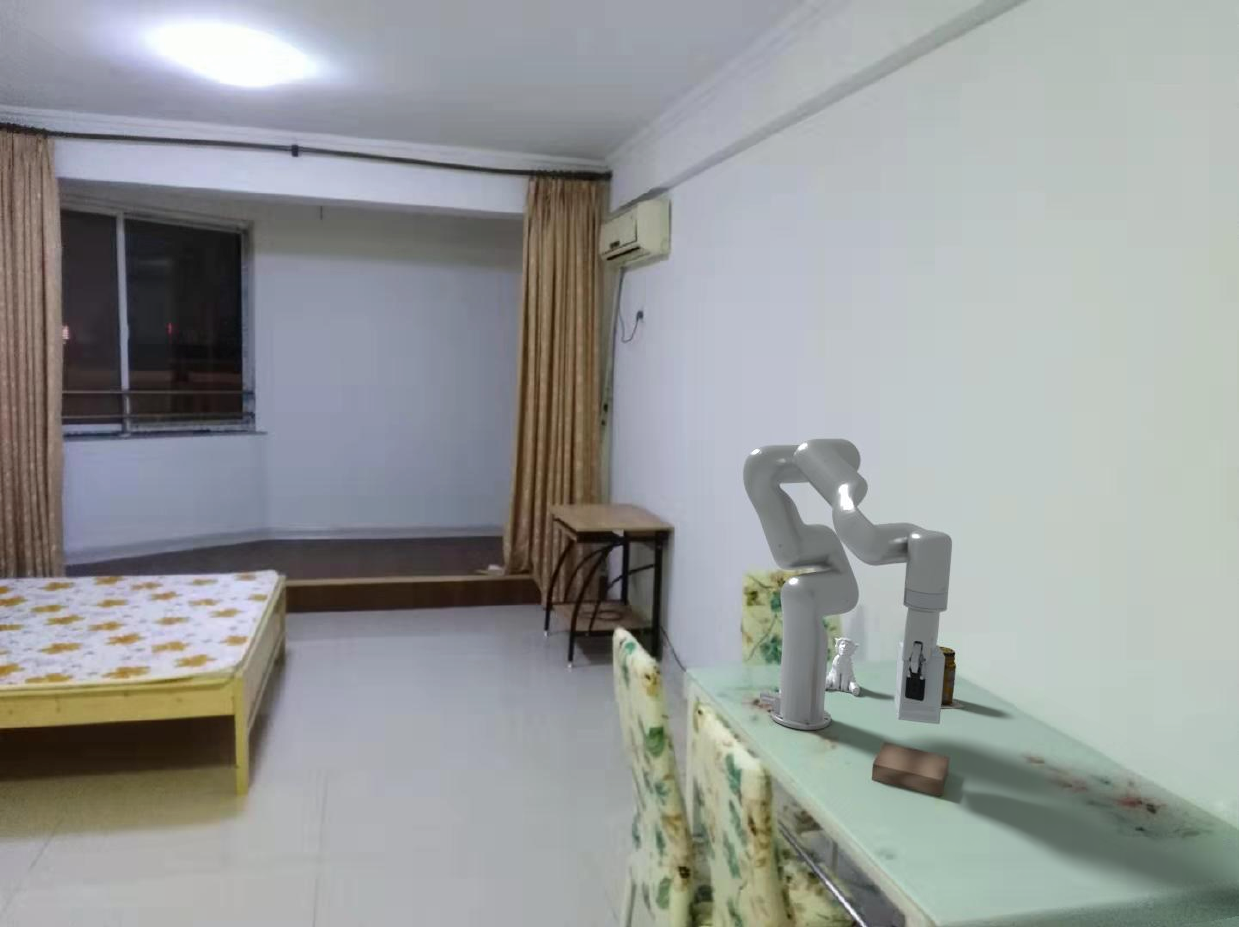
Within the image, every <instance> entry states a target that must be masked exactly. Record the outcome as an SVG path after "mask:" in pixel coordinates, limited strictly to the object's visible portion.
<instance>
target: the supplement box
mask: <svg viewBox="0 0 1239 927" xmlns="http://www.w3.org/2000/svg"><path fill="white" fill-rule="evenodd" d="M903 643H904V641H899V643H898V650H897V651H898V652H897V663H896V664H897V665H896V678H895V689H894V701H893V707H894V709H895V713H896V716H897V719H898V720H900V721H908V722H914V723H924V724H925V723H926V724H933V725H939V724H940V721H941V710H942V708H941V701H942V689H943V676H944V664H945V656H944V654H943V652H942V651H941V649H940V647H941V646H940V645H938V644H937V645H936V649H935V651H934V653H933V654H932V657H931V661H930V664H929V665H927V666H926V668H925V674H924V679H926V680H925V693H924V700H923V701H919V700H914V699H908V698H906V697H905V689H906V677H907V673H908V667H909V661H910V658H912V654H913V653H912V654H911V656H910V658H909V660H908V661H906V660H905V662H904V661H903V660H902V652H903ZM922 649H923V647H922ZM919 661H923V662H924V656H923V654H921V655H920V660H919ZM919 667H920V668H921V669H922V666H919Z"/></svg>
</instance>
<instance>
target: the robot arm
mask: <svg viewBox="0 0 1239 927" xmlns="http://www.w3.org/2000/svg"><path fill="white" fill-rule="evenodd" d="M861 460H862V458H861V455H860V451H859V449H858V448H857V447H856V445H855V444H854V443H853V442H851V441H850V440H848V439H844V438H814V439H813V438H812V439H809V440H806V441H803V442H802V443H801V444H774V445H773V444H771V445H770V444H769V445H764V446H760V447H757V448H755V449H753V450H752V451H751V452H750V453H749V454H747V457H746V459H745V461H744V465H743V470H742V481H743V486H744V489H745V492H746V494H747V497H748V498H749V500H750V502H751V505H752V507H753V508H754V510H755V512H756V514H757V516H758V519H759V522H760V525H761V528H762V531H763V534H764V536H765V539H766V541H767V544H768V547H769V549H770V553H771V555H772V558H773V560H774V562H775V563H776V565H777V566H778V567H779V568H780V569H781V570H783V571H795V570H796V571H798V570H808V569H813V571H812V572H811V571H810V572H804V573H799V574H796V575H795V574H794V575H792V576H791V577H789V578H788V579H787V580H786V581H785V582H784V583H783V584H782V587H781V590H780V606H781V612H782V642H781V645H782V647H781V659H780V661H781V662H780V675H779V690H778V691H775V692H770V691H769V690H767V691H766V690H761V691H760V692H759V699H760V700H761V703H762V704H769V705H772V707H771V708H770V713H769V714H770V717H771V718H772V720H773V721H775V722H776V723H778V724H779V725H783V726H784V727H788V728H791V729H797V730H805V731H812V730H814V731H815V730H820V729H824V728H826V727H828V726H829V725H830V724H831V720H832V719H831V718H832V717H831V715H830V713H829V712H828V711H827V710H825V696H826V690H825V686H826V677H827V671H828V659H829V658H828V655H829V636H828V631H827V629H826V627H825V624H824V622H823V618H826V617H829V616H830V617H831V616H836V615H841V614H842V615H843V614H846V613H849V612H851V611H852V610H854V609H855V608H856V606H857V605H858V602H859V597H860V595H859V594H860V591H859V586H858V583H857V579H856V577H855V574H854V571H853V569H852V566H851V564H850V561H849V559H848V556H847V553H846V551H845V549H844V546H843V544H844V545H845V547H846V548H847V550H849V552H851V553H852V555H854V556H855V557H856V558H857V559H858V560H860V561H861V562H862V563H864V564H866V565H869V566H873V567H875V566H876V567H877V566H878V567H879V566H885V565H894V564H895V565H896V564H906V566H905V579H904V580H905V581H904V591H903V602H902V604H903V606H904V607H905V608H907V613H906V620H905V627H904V635H903V642H904V643H903V652H902V660H903V661H904V662H905V660H906V661H908V660H909V658H910V656H911V654H912V653H913V654H912V658H910V661H909V667H908V673H907V677H906V689H905V697H906V698H908V699H914V700H919V701H923V700H924V693H925V680H926V679H924V674H925V668H926V666H927V665H929V664H930V661H931V657H932V654H933V653H934V651H935V649H936V645H938V636H939V630H940V628H939V626H940V617H941V616H940V614H941V613H943V612H946V611H947V610H948V600H949V589H950V588H949V587H950V575H951V562H952V551H953V540H952V537H951V536H950V535H949V534H947V533H945V532H943V531H939V530H929V529H926V528H923V527H921V526H919V525H917V524H914V523H911V522H910V523H909V522H895V523H893V522H892V523H881V524H880V523H879V524H873V522H872V521H870V519H868V518H867V517H866V516H865V514H863V512H862V511H861V510H860V509H859V508H858V506H859V505H861V503H862V502H863V500H864V499H865V497H866V495H867V493H868V490H869V488H868V487H869V485H868V482H867V480H866V479H865V478H864V477H863V476H862V475H861V474H860V473H859V472H858V471H859V469H860V468H861V462H862V461H861ZM802 483H804V484H805V483H809V484H810V486H812V488H813V489H814V490H815V491H816V492H817V493H818V494H819V495H820V496H821V497H822V498H823V499H824V500H825V501H826V502H827V504H828V505H829V506H830V507H831V508H832V512H831V514H832V515H831V519H832V523H833V527H834V530H833V528H831V527H829V526H828V525H825V524H820V523H812V524H806V523H805V522H804V521H803V519H802V518H801V515H800V512H799V510H798V509H799V508H798V507H797V505H796V503H795V501H794V500H793V499H792V497H791V496H790V495H789V494H788V493H787V492H786V491H785V490H784V489H783V488H782V487H781V484H802ZM922 647H923V649H922ZM921 654H923V656H924V662H923V661H919V660H920V655H921ZM919 666H922V669H921V668H920V667H919Z"/></svg>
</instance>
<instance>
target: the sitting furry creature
mask: <svg viewBox="0 0 1239 927" xmlns="http://www.w3.org/2000/svg"><path fill="white" fill-rule="evenodd" d="M834 641H835V643H836V644H835V645H834V648H835V653H836V654H837V655H835V657H834V659H833V660H832V665H831V670H830V671H829V673H828V674H827V675H826V686H825V691H826V690H833V691H835V690H836V691H841V692H846V693H851V694H852V695H853V696H855V697H857V696H858V695H859V694H860V692H861V691H860V690H861V687H860V684H858V682H857V680H856V677H855V673H854V670H853V667H854V666H853V661H852V658H851V656H852V655H854V654H855V651H856V650H858V647H859V645H860V643H856V644H855V643H854V641H853V640H852V639H850V638H849V637H839V638H836V637H834Z"/></svg>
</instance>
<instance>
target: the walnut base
mask: <svg viewBox="0 0 1239 927" xmlns="http://www.w3.org/2000/svg"><path fill="white" fill-rule="evenodd" d="M949 765H950V756H948V755H942V754H938V753H934V752H930V751H926V750H921V749H916V748H913V747H907V746H904V745H900V744H899V745H898V744H896V743H889V742H883V744H882V745H881V747H880V750H879V751H878V753H877V755H876V757H875V759H874V761H873V763H872V771H871V772H872V773H871V780H872V781H876V782H880V783H884V784H888V785H893V786H897V787H899V788H900V787H901V788H906V789H910V790H913V791H918V792H921V793H926V794H929V795H934V796H938V797H941V796H942V792H943V790H944V786H945V783H946V780H947V777H948V773H949V767H950V766H949Z"/></svg>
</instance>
